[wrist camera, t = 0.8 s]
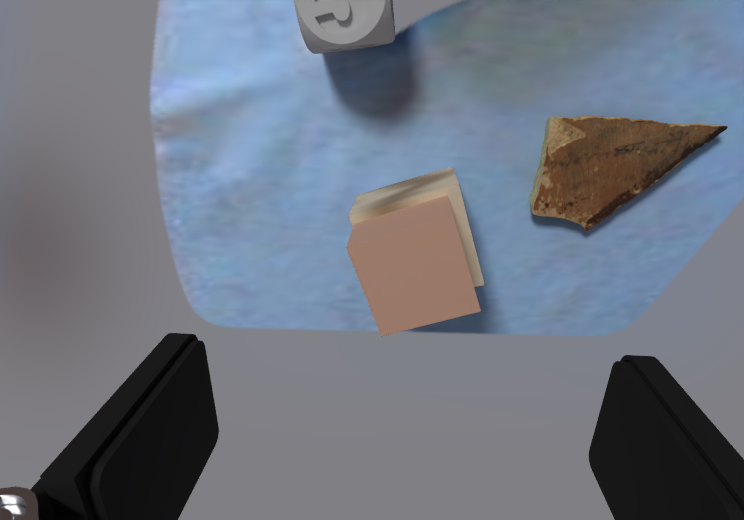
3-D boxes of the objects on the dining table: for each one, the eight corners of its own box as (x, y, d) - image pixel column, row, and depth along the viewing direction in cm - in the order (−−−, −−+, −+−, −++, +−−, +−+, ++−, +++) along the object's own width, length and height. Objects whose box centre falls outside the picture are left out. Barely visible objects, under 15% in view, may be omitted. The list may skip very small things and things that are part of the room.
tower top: (447, 194, 27) (453, 215, 23) (472, 280, 29) (481, 311, 25) (354, 223, 28) (346, 247, 24) (384, 303, 30) (381, 336, 27)
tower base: (451, 166, 31) (458, 183, 26) (474, 254, 34) (484, 284, 29) (357, 194, 32) (348, 216, 28) (386, 277, 35) (382, 309, 30)
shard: (714, 123, 29) (732, 127, 27) (674, 233, 32) (688, 242, 30) (545, 110, 29) (553, 113, 28) (521, 219, 33) (527, 228, 31)
